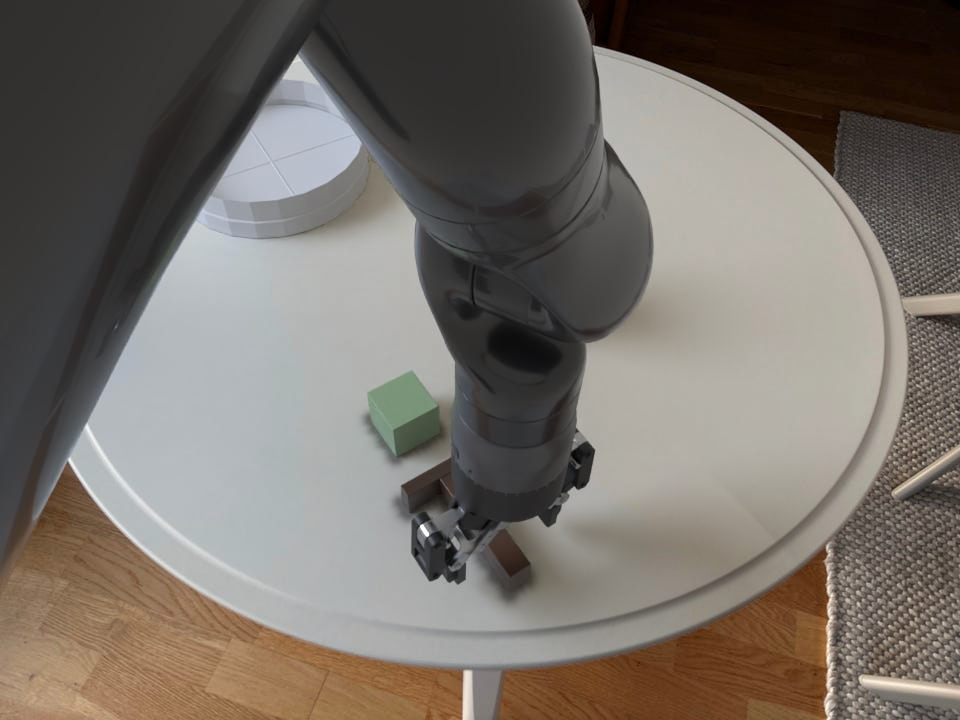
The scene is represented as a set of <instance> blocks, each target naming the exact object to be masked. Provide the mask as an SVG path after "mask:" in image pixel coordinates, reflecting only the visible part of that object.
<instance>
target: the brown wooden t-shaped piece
mask: <svg viewBox="0 0 960 720" xmlns="http://www.w3.org/2000/svg"><path fill="white" fill-rule="evenodd" d="M400 491H401V492H400V493H401V502H402V504H403V506H404V507H405V508H406V510H407V512H408V513H409V514H411V513H412V512H414V511H415V510H417V509H419V508H421V507H423V506H424V505H426V504H428V503H429V502H431V501H433V500H435V499H436V498H438V497H440V498H441V499H442V500H443V502H444V503H445V504H446V506H447V507H448V508H449V505H450V502H451V500H452V499H453V497H454V495H455V490H454V485H453V480H452V471H451V457H449V458H446V459H445V460H443V461H441V462H439V463H438V464H436V465H435V466H433V467H431V468H429V469H427V470H426V471H424V472H422V473H420V474H418V475H417V476H415V477H413V478H412V479H410V480H408V481H406V482H404V483H403V484H401V485H400ZM474 532H475V533H476V535H477V536H478V535H479V534H480V533H481V531H478V530H474ZM479 553H480V554H481V556H482V557H483V558H484V560H485V561H486V562H487V564H488V565H489V567H490V569H491V570H492V571H493V573H494V574H495V576H496V578H497V579H498V580H499V581H500V583H501V584H502V586H503V587H504V588H505V590H506V591H507V592H510V591H512V590H513V589H515V588H516V587H518V586H519V585H521V584H522V583H524V582H526V580H528V579H529V576H530V571H531V566H532V563H531V562H530V560H529V559H528V557H527V556H526V554H525V553H524V552H523V550H522V549H521V548H520V547H519V545H518V544H517V542H516V541H515V539H514V538H513V537H512V536H511V534H510V533H509V531H508V530H507V528H506V529H503V530H500V531H499V532H498V534H497V535H496V536H495V537H494V538H493V540H492V541H491V542H490V543H489V544H488V546H487V547H486V548H485V549H484V550H483V551H482V552H479Z"/></svg>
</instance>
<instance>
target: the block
mask: <svg viewBox="0 0 960 720" xmlns="http://www.w3.org/2000/svg"><path fill="white" fill-rule="evenodd" d="M366 396H367V402H368V408H369V415H370V416H369V417H370V421H371V423H372V424H373V427H375V429H376V431H378V433H379V435H380V436H381V437H382V439H383V440H384V442H385V444H386V445H387V446H388V447H389V449H390V451H391V452H392V453H393V455H394V456H395V457H396V458H398V457H399V456H401V455H403V454H405V453H407V452H409V451H410V450H412V449H414V448H416V447H418V446H420V445H421V444H423V443H425V442H427V441H429V440H431V439H432V438H434V437H436V436H438V435H440V430H441V427H440V405H439V404H438V402H437V401H436V400H435V398H434V397H433V396H432V395H431V393H430V392H429V391H428V389H427V388H426V387H425V385H424V384H423V383H422V381H421V380H420V379H419V377H418V376H417V374H415V372H414V371H413V370H412V369H411V370H409V371H407V372H405V373H403V374H401V375H399V376H397V377H394V379H391V380H389V381H387V382H385V383H384V384H381V385H379V386H378V387H376V388H374V389H371V390H370V391H367V392H366Z"/></svg>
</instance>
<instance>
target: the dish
mask: <svg viewBox="0 0 960 720" xmlns="http://www.w3.org/2000/svg"><path fill="white" fill-rule="evenodd" d="M368 155H369V154H368V151H367V150H366V148H365V147H364V146H363V144H362V143H361V141H360V140H359V138H358V137H357V136H356V134H355V133H354V131H353V130H352V129H351V127H350V126H349V124H348V123H347V122H346V120H345V119H344V117H343V116H342V115H341V113H340V112H339V110H338V109H337V108H336V106H335V105H334V104H333V102H332V101H331V99H330V98H329V97H328V95H327V94H326V92H325V91H324V90H323V88H322V87H321V85H320V84H314V83H311V82H307V81H304V80H297V79H296V80H295V79H285V78H282V80H281V82H280V83H279V85H278V86H277V88H276V90H275V91H274V93H273V95H272V96H271V98H270V99H269V101H268V103H267V104H266V106H265V108H264V109H263V111H262V112H261V114H260V116H259V117H258V119H257V121H256V122H255V124H254V126H253V127H252V129H251V130H250V132H249V134H248V135H247V137H246V139H245V140H244V142H243V143H242V145H241V147H240V148H239V150H238V152H237V153H236V155H235V157H234V158H233V160H232V161H231V163H230V165H229V166H228V168H227V170H226V171H225V173H224V174H223V176H222V178H221V179H220V181H219V183H218V184H217V186H216V187H215V189H214V191H213V192H212V194H211V196H210V197H209V199H208V201H207V202H206V204H205V206H204V207H203V209H202V211H201V212H200V214H199V216H198V217H197V219H196V221H197V222H198V223H200V224H201V225H203V226H205V227H206V228H208V229H210V230H212V231H215V232H219V233H221V234H225V235H228V236H231V237H239V238H248V239H270V238H271V239H272V238H285V237H290V236H293V235H297V234H301V233H305V232H309V231H312V230H314V229H316V228H319V227H320V226H322V225H325V224H326V223H329V222H331V221H333V220H335V219H336V218H338V217H339V216H340V215H342V214H343V213H344V212H346V210H348V209H349V208H350V207H352V206H353V205H354V203H355V202H356V200H358V198H359V197H360V195H361V194H362V193H363V191H364V190H365V187H366V184H367V181H368V178H369V175H370V169H369V168H370V167H369V156H368Z"/></svg>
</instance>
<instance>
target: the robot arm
mask: <svg viewBox="0 0 960 720" xmlns="http://www.w3.org/2000/svg"><path fill="white" fill-rule="evenodd" d="M297 56H298V57H299V59H300V60H301V61H302V62H303V64H304V65H305V67H306V68H307V69H308V71H309V72H310V74H311V75H312V77H314V79H315V80H316V82H317V83H318V85H319V86H321V87H322V88H323V90H324V91H325V92H326V94H327V95H328V97H329V98H330V99H331V101H332V102H333V104H334V105H335V106H336V108H337V109H338V110H339V112H340V113H341V115H342V116H343V117H344V119H345V120H346V122H347V123H348V124H349V126H350V127H351V129H352V130H353V131H354V133H355V134H356V136H357V137H358V138H359V140H360V141H361V143H362V144H363V146H364V147H365V148H366V150H367V154H368V155H370V157H371V158H372V160H373V161H374V163H375V164H376V165H377V167H378V168H379V170H380V172H381V173H382V174H383V176H384V177H385V179H386V181H387V182H388V183H389V184H390V186H392V188H393V189H394V191H395V192H396V193H397V195H398V197H399V198H400V199H401V200H402V202H403V203H404V204H405V206H406V208H407V209H408V210H409V212H410V213H411V215H412V216H413V217H414V218H415V224H414V239H413V240H414V241H413V244H414V245H413V249H414V259H415V265H416V270H417V275H418V279H419V283H420V287H421V290H422V292H423V295H424V298H425V300H426V302H427V305H428V307H429V309H430V312H431V315H432V316H433V318H434V321H435V322H436V323H435V324H436V325H437V327H438V330H439V332H440V334H441V336H442V339H443V341H444V344H445V346H446V348H447V351H448V352H449V354H450V356H451V358H452V360H453V361H454V398H453V401H452V405H451V412H450V458H451V471H452V480H453V485H454V490H455V495H454V497H453V499H452V500H451V502H450V505H449V507H448V510H446V511H444V512H443V513H441V514H439V515H437V516H436V517H433V516H430V514H429V513H428V512H427V511H421V512H419V513H417V514H416V515H415V516H414V517H413V518H412V519H411V524H410V525H411V530H410V537H411V538H410V539H411V540H410V553H411V556H412V557H413V559H414V560H415V562H416V563H417V565H418V566H419V568H420V570H421V571H422V572H423V575H424V576H425V577H426V579H427V580H428V582H434V581H437V580H438V579H439V578H440V577H441V576H443V578H444V579H445V581H446V582H447V583H449V584H451V583H452V582H454V583H455V584H456V585H457V586H458V585H460V584H462V583H464V582H465V581H466V580H467V562H468V560H469V558H471V556H472V555H475V554H478V553H480V552H482V551H483V550H484V549H485V548H486V547H487V546H488V544H489V543H490V542H491V541H492V540H493V538H494V537H495V536H496V535H497V534H498V532H499V531H500V530H503V529H506V530H507V528H508V527H509V526H510V524H511V523H520V522H525V521H529V520H531V519H534V518H536V517H538V518H539V520H540V522H542V524H543V525H544V526H545V527H546V528H548V529H549V528H551V527H552V526H553V525H555V524H556V523H557V520H558V519H557V518H558V516H559V514H560V513H561V511H562V506H563V504H566V502H568V500H569V499H570V494H569V492H570V490H572V489H573V488H575V489H576V490H577V491H580V490H582V489H585V487H587V485H588V484H589V483H590V480H591V475H592V470H593V464H594V460H595V454H596V449H595V447H594V446H593V445H592V444H591V443H590V442H589V440H588V439H587V438H586V437H585V435H584V434H583V433H582V432H581V431H580V430H579V428H577V423H578V421H577V419H578V415H577V413H578V412H577V409H578V404H579V399H580V394H581V391H582V386H583V381H584V378H585V377H584V376H585V373H586V366H587V357H588V356H587V355H588V350H587V349H588V347H587V344H590V343H595V342H598V341H602V340H603V339H605V338H607V337H609V336H610V335H612V334H614V333H616V332H617V331H618V330H619V329H620V328H622V327H623V326H624V325H626V323H627V322H628V320H629V319H630V318H631V317H632V316H633V315H634V313H635V312H636V310H637V309H638V307H639V305H640V303H641V301H642V300H643V298H644V295H645V293H646V290H647V288H648V285H649V282H650V278H651V276H652V275H651V273H652V269H653V264H654V254H655V253H654V252H655V242H654V228H653V223H652V217H651V213H650V210H649V206H648V204H647V201H646V200H645V197H644V195H643V193H642V191H641V189H640V187H639V185H638V184H637V182H636V181H635V179H634V178H633V176H632V175H631V173H630V171H628V169H627V167H626V166H625V164H624V163H623V162H622V160H621V158H620V157H619V155H618V153H617V152H616V150H615V149H614V148H613V146H612V145H611V144H610V143H609V142H608V140H607V139H606V138H605V136H604V123H603V111H602V101H601V100H602V99H601V85H600V84H601V83H600V76H599V71H598V67H597V62H596V57H595V51H594V46H593V41H592V37H591V34H590V31H589V27H588V24H587V20H586V17H585V15H584V13H583V11H582V8H581V6H580V3H579V1H578V0H0V599H1V598H2V596H3V594H4V592H5V590H6V587H7V585H8V583H9V580H10V579H11V577H12V575H13V573H14V570H15V569H16V566H17V564H18V563H19V560H20V559H21V556H22V555H23V552H24V551H25V548H26V546H27V544H28V542H29V541H30V538H31V536H32V534H33V532H34V530H35V528H36V526H37V524H38V522H39V519H40V517H41V516H42V514H43V512H44V509H45V507H46V505H47V504H48V502H49V499H50V497H51V496H52V493H53V491H54V489H55V487H56V485H57V483H58V482H59V479H60V477H61V475H62V473H63V471H64V469H65V467H66V465H67V463H68V461H69V459H70V457H71V455H72V454H73V451H74V450H75V448H76V446H77V444H78V442H79V440H80V437H81V435H82V434H83V432H84V430H85V428H86V426H87V424H88V422H89V420H90V418H91V416H92V414H93V412H94V411H95V408H96V406H97V404H98V402H99V400H100V398H101V396H102V394H103V392H104V390H105V388H106V386H107V385H108V382H109V381H110V379H111V377H112V374H113V373H114V371H115V370H116V367H117V365H118V363H119V361H120V359H121V357H122V355H123V353H124V351H125V349H126V347H127V345H128V343H129V341H130V339H131V337H132V336H133V334H134V332H135V330H136V328H137V326H138V324H139V322H140V320H141V318H142V316H143V315H144V313H145V312H146V310H147V308H148V305H149V303H150V302H151V300H152V298H153V296H154V295H155V292H156V290H157V288H158V286H159V285H160V283H161V281H162V278H163V277H164V275H165V274H166V271H167V269H168V268H169V266H170V264H171V263H172V261H173V259H174V258H175V256H176V254H177V253H178V251H179V249H180V247H182V245H183V243H184V241H185V240H186V237H187V236H188V234H189V233H190V231H191V230H192V229H193V228H192V227H193V226H194V224H195V222H196V221H197V220H196V219H197V217H198V216H199V214H200V212H201V211H202V209H203V207H204V206H205V204H206V202H207V201H208V199H209V197H210V196H211V194H212V192H213V191H214V189H215V187H216V186H217V184H218V183H219V181H220V179H221V178H222V176H223V174H224V173H225V171H226V170H227V168H228V166H229V165H230V163H231V161H232V160H233V158H234V157H235V155H236V153H237V152H238V150H239V148H240V147H241V145H242V143H243V142H244V140H245V139H246V137H247V135H248V134H249V132H250V130H251V129H252V127H253V126H254V124H255V122H256V121H257V119H258V117H259V116H260V114H261V112H262V111H263V109H264V108H265V106H266V104H267V103H268V101H269V99H270V98H271V96H272V95H273V93H274V91H275V90H276V88H277V86H278V85H279V83H280V82H281V80H282V79H284V77H285V76H286V74H287V73H288V70H289V68H290V67H291V66H292V64H293V62H294V60H295V59H296V57H297ZM474 530H478V531H481V533H480V534H479V535H478V536H477V535H476V533H475V532H474ZM454 538H455V539H456V540H457V542H458V544H459V549H457V547H456V546H455V545H454V543H453V542H452V540H453V539H454Z"/></svg>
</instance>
